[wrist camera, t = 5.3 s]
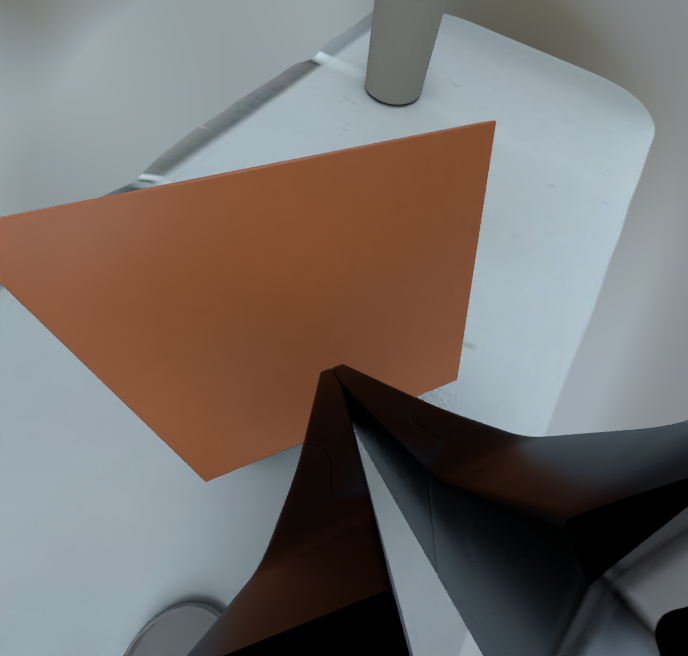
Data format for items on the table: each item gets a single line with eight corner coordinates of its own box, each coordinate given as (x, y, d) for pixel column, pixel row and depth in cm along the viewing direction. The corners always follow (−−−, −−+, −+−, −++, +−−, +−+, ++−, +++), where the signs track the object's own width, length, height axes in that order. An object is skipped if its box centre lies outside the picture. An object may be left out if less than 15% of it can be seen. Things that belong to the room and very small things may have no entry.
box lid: (-26, 221, 6) (-58, 229, 5) (477, 122, 8) (496, 119, 8) (207, 466, 12) (205, 482, 12) (448, 370, 15) (457, 380, 14)
